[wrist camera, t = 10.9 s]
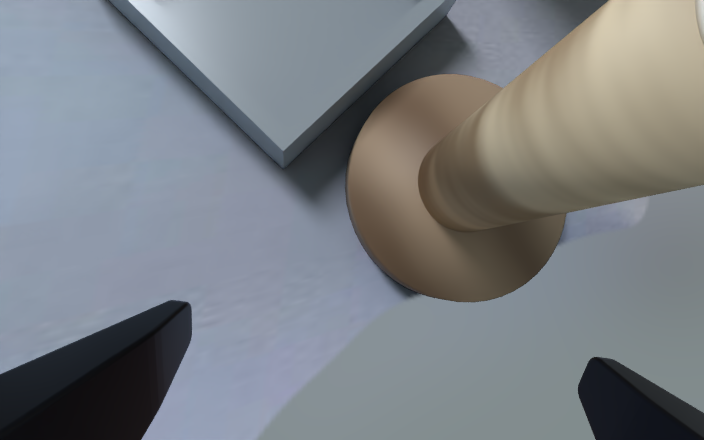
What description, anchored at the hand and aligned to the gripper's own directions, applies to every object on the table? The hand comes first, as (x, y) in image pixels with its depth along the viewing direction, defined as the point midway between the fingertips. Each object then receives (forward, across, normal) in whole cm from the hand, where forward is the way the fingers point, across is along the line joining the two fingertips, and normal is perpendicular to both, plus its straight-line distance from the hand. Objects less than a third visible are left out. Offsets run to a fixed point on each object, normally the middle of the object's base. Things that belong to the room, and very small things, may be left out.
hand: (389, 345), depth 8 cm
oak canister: (+12, -4, -1) cm, 13 cm away
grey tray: (+16, +6, -9) cm, 20 cm away
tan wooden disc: (+13, -4, -1) cm, 14 cm away
